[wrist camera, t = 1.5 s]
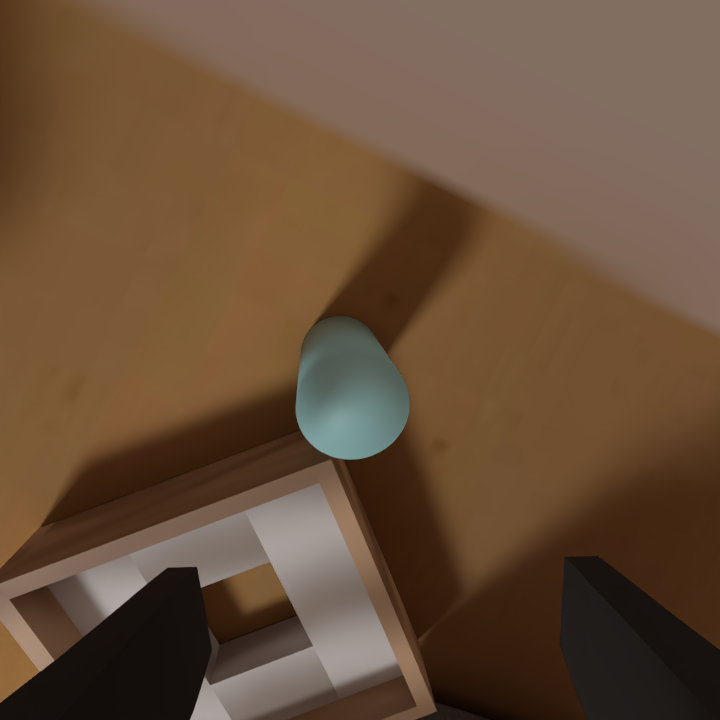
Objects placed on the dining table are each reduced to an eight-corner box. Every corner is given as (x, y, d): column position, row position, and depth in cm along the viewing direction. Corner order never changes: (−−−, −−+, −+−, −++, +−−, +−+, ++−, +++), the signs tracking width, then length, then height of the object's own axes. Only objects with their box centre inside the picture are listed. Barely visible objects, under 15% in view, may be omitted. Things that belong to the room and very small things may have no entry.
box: (39, 527, 18) (-22, 591, 15) (327, 419, 19) (331, 459, 15) (177, 731, 22) (153, 819, 19) (417, 640, 22) (437, 711, 19)
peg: (288, 332, 17) (277, 376, 12) (363, 304, 18) (389, 335, 12) (317, 402, 18) (320, 474, 13) (388, 375, 18) (423, 436, 13)
